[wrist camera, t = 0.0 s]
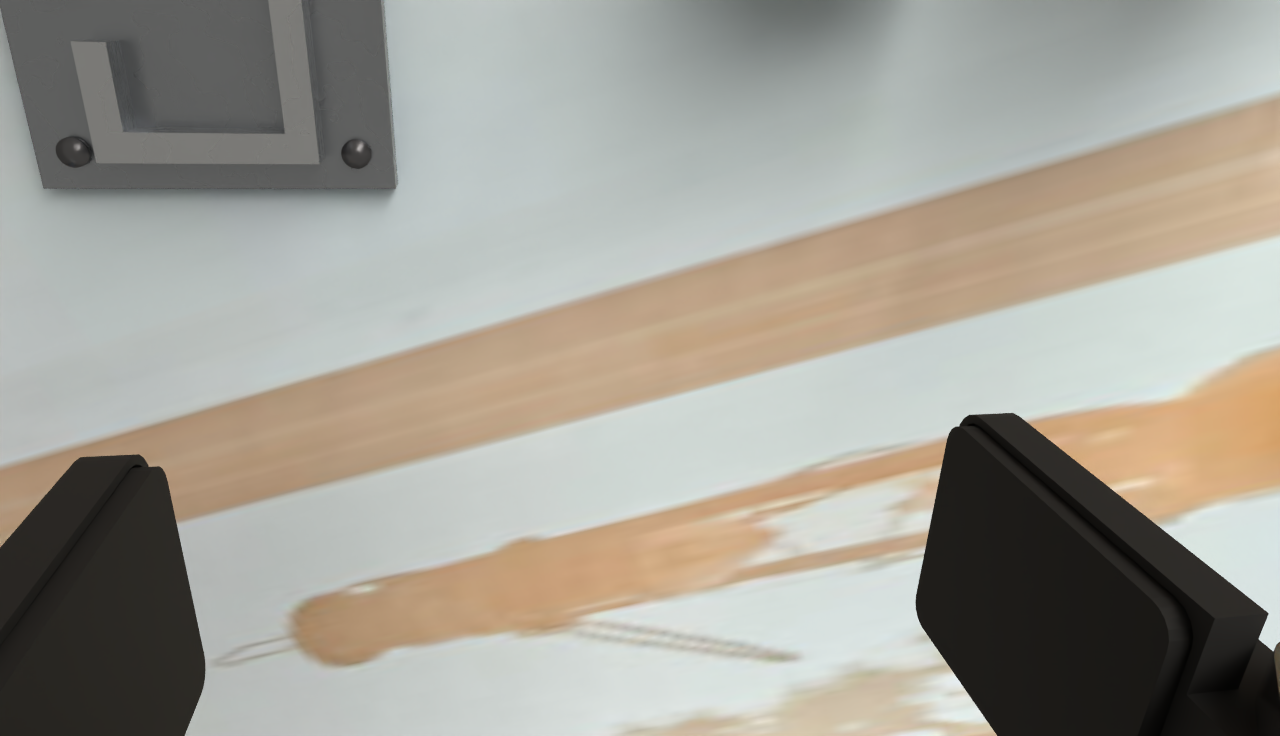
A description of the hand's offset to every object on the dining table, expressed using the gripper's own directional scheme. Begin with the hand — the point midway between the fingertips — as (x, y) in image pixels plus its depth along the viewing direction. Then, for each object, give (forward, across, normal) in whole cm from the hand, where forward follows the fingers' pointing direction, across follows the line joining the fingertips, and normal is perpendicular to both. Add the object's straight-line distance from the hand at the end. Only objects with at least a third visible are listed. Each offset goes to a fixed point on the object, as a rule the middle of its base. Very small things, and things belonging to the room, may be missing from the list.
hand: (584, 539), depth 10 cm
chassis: (+31, +12, -7) cm, 34 cm away
